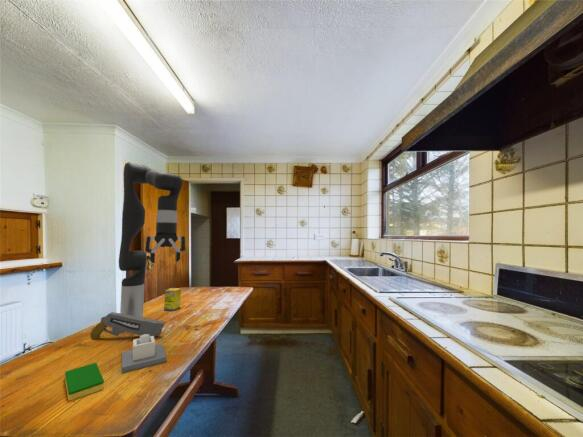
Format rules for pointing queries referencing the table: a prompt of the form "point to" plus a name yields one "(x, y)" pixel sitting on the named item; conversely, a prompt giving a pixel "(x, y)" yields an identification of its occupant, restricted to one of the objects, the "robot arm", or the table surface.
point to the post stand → (136, 364)
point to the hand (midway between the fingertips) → (165, 262)
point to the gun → (127, 325)
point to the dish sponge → (83, 381)
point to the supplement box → (172, 299)
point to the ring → (143, 349)
